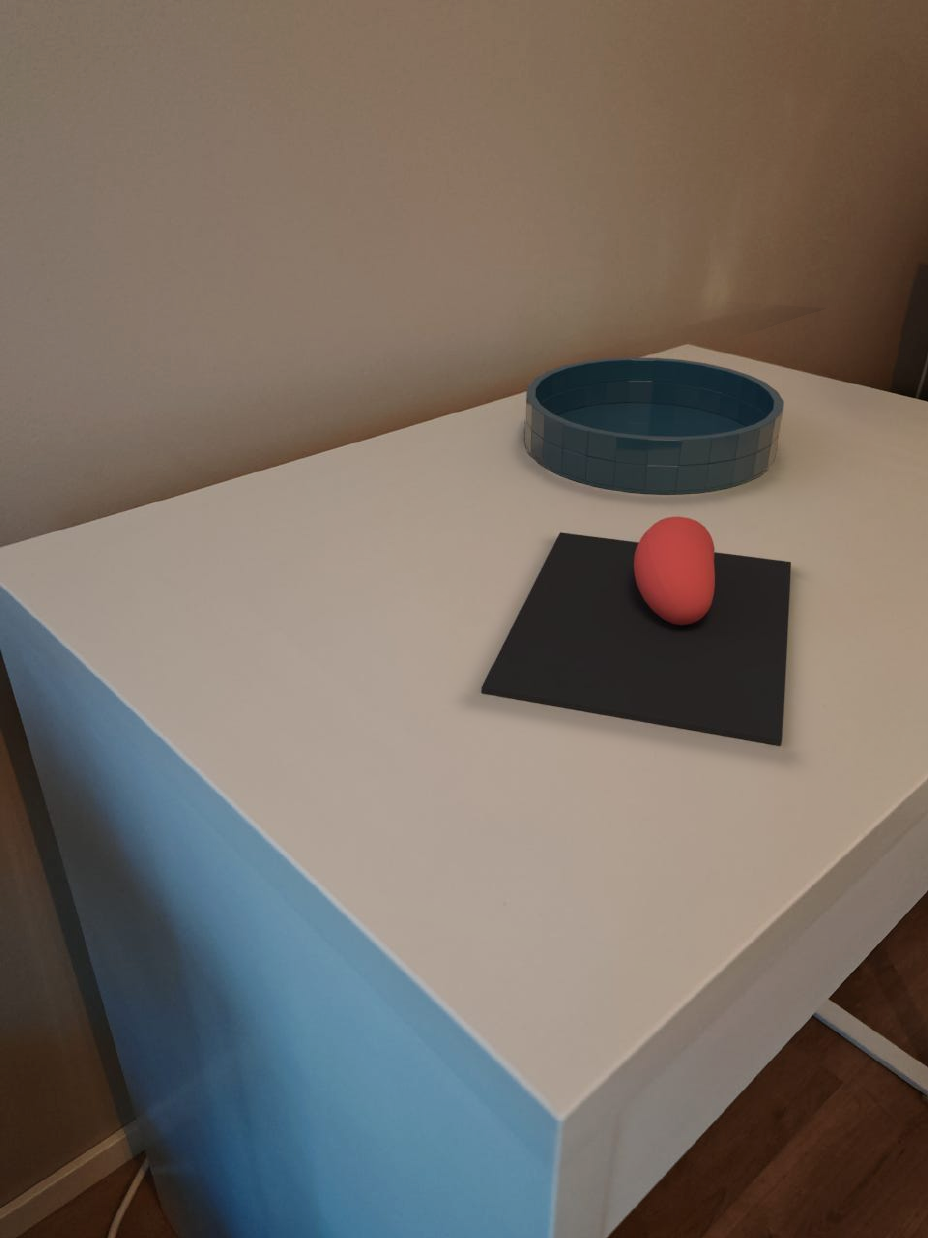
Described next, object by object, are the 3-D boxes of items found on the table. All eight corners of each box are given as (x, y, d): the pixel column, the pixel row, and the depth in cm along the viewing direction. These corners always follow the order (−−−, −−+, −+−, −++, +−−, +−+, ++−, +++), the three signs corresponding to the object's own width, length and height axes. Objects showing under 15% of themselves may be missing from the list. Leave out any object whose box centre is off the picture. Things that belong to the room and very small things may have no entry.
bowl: (779, 414, 91) (787, 367, 89) (769, 508, 74) (779, 452, 71) (555, 394, 97) (556, 349, 94) (496, 476, 79) (497, 424, 77)
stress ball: (599, 629, 61) (633, 576, 55) (638, 527, 66) (672, 469, 60) (675, 664, 60) (716, 613, 55) (708, 559, 65) (749, 503, 60)
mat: (790, 566, 66) (791, 561, 65) (781, 746, 49) (782, 739, 49) (559, 536, 70) (559, 531, 70) (481, 693, 53) (481, 687, 53)
